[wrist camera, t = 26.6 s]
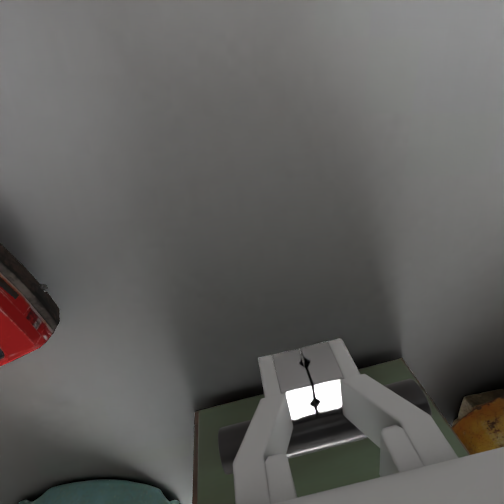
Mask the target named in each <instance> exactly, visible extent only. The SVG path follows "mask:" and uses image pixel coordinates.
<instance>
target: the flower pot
mask: <svg viewBox="0 0 504 504" xmlns="http://www.w3.org/2000/svg"><path fill="white" fill-rule="evenodd" d="M18 504H180V503H179V501H177V500H172V501H170V502H169V501H168V500H167V499H166V497H165V496H164V495H163V493H162V491H161V490H160V489H159V488H156V487H153V486H150V485H147V484H142V483H136V482H130V481H128V480H114V479H100V480H88V481H82V482H74V483H69V484H64V485H60V486H56V487H52V488H50V489H48V490H47V491H46V492H45V493H44V494H43V495H42V496H40V497H39V498H38V499H36V500H34V501H32V502H31V501H28V500H23V501H21V502H19V503H18Z"/></svg>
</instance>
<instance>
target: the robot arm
mask: <svg viewBox="0 0 504 504" xmlns="http://www.w3.org/2000/svg"><path fill="white" fill-rule="evenodd" d="M300 352H301V353H300ZM272 357H273V358H272ZM302 360H303V361H302ZM273 361H274V362H273ZM258 363H259V368H260V373H261V379H262V384H263V390H264V395H265V398H262V399H261V400H260V402H259V404H258V407H257V409H256V411H255V413H254V416H253V418H252V420H251V423H250V425H249V427H248V430H247V432H246V434H245V436H244V439H243V441H242V443H241V446H240V448H239V450H238V452H237V455H236V457H235V459H234V462H233V474H234V490H235V504H504V447H501V448H497V449H493V450H489V451H485V452H481V453H476V454H472V455H468V456H464V457H460V458H458V456H457V455H456V453H455V452H454V450H453V449H452V447H451V446H450V444H449V443H448V441H447V440H446V438H445V437H444V435H443V434H442V432H441V431H440V429H439V428H438V426H437V425H436V423H435V422H434V420H433V418H432V417H431V416H430V415H429V414H427V413H426V412H424V411H423V410H421V409H419V408H418V407H416V406H415V405H413V404H412V403H410V402H408V401H407V400H405V399H404V398H402V397H401V396H399V395H397V394H396V393H394V392H393V391H391V390H390V389H388V388H386V387H385V386H383V385H382V384H380V383H379V382H377V381H375V380H374V379H372V378H371V377H369V376H368V375H366V374H360V373H359V371H358V369H357V367H356V365H355V363H354V361H353V359H352V357H351V355H350V353H349V351H348V349H347V348H346V346H345V344H344V342H343V340H342V339H341V338H338V339H334V340H330V341H327V342H326V341H325V342H321V343H317V344H313V345H309V346H305V347H301V348H300V351H299V349H295V350H290V351H285V352H280V353H276V354H272V355H267V356H263V357H258ZM314 406H315V407H314ZM315 409H316V412H317V415H318V418H322V417H327V416H331V415H335V414H340V413H343V415H344V416H345V417H346V418H347V419H348V420H349V421H350V422H351V423H353V424H354V425H355V426H356V427H357V428H358V429H359V430H360V431H361V432H363V433H364V434H365V435H366V436H367V437H368V438H369V439H370V440H371V441H372V442H374V443H375V444H376V445H377V446H378V447H379V448H380V472H379V474H380V477H379V478H375V479H371V480H367V481H363V482H359V483H354V484H350V485H346V486H342V487H338V488H334V489H330V490H326V491H322V492H318V493H314V494H310V495H306V496H302V497H298V498H297V494H296V490H295V486H294V482H293V478H292V474H291V470H290V466H289V462H288V458H287V456H286V453H287V449H288V445H289V442H290V438H291V434H292V430H293V425H296V424H300V423H303V422H307V421H310V420H314V419H316V413H315Z"/></svg>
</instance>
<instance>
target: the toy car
mask: <svg viewBox="0 0 504 504" xmlns="http://www.w3.org/2000/svg"><path fill="white" fill-rule="evenodd" d="M45 289H47V285H41V286H40V285H39V282H38V281H37V280H36V279H35V278H34V277H33V276H32V275H31V274H30V273H29V272H28V271H27V269H26V268H25V267H24V266H23V265H22V264H21V263H20V262H19V261H18V260H17V259H16V258H15V257H14V256H13V255H12V254H11V253H10V252H8V251H7V250H6V249H5V248H4V247H3V246H2V245H1V244H0V366H2V365H5V364H7V363H9V362H11V361H14V360H16V359H18V358H20V357H22V356H24V355H26V354H28V353H30V352H32V351H34V350H36V349H38V348H40V347H41V346H42V345H44V344H45V343H46V342H47V340H48V339H49V338H50V337H51V335H52V334H53V333H54V331H55V329H56V328H57V326H58V324H59V322H60V310H59V307H58V306H57V305H56V303H55V302H54V301H53V299H52V298H51V296H50V295H49V294H48V292H44V290H45Z"/></svg>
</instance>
